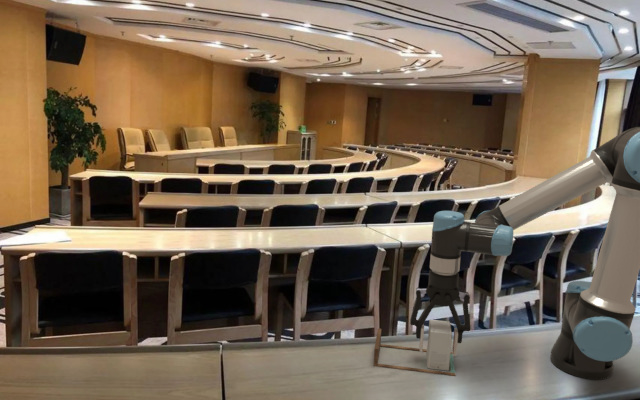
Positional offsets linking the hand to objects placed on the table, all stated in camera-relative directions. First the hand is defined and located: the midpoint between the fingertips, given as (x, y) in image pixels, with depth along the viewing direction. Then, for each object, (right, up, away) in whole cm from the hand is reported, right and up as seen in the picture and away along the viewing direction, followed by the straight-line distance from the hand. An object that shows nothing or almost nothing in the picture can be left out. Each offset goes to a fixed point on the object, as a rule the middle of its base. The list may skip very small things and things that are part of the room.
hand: (437, 351), depth 135 cm
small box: (0, -3, +1) cm, 3 cm away
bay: (-6, -3, +2) cm, 7 cm away
